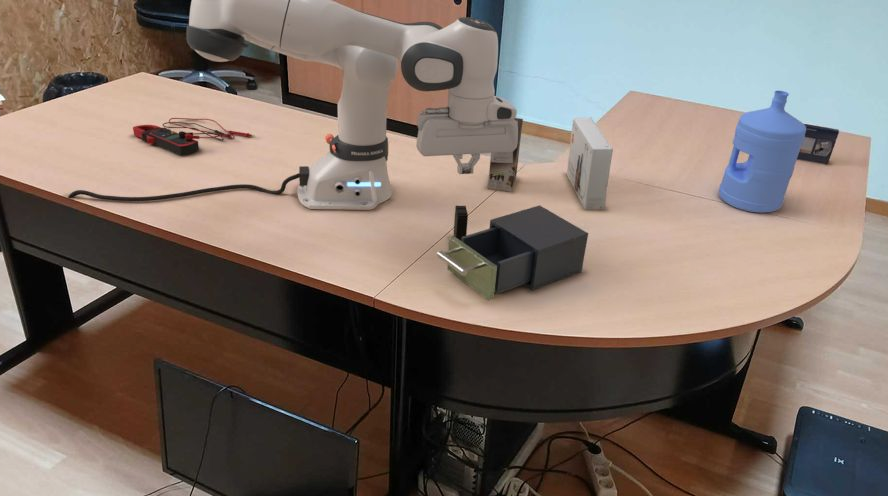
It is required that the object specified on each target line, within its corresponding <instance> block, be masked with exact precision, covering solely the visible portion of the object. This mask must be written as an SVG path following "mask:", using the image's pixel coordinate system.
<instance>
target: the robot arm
mask: <svg viewBox="0 0 888 496" xmlns="http://www.w3.org/2000/svg"><path fill="white" fill-rule="evenodd" d="M188 18H189V19H188V25H186V33H185V34H186V36H185V37H186V43H187V45H188V46H189V47H190V49H191V50H193V51H195V52H196V53H197V54H198V55H199V56H201V57H202V58H204V59H206V60H209V61H211V62H217V63H218V62H219V63H224V62H233V61H235V60H236V59H238V58H239V57H240V56H241V55H242V53H243V52H244V50H245V49H248V47H250V46H249V44H248V43H251V44H254V45H256V46H258V47H261V48H263V49H267V50H269V51H272V52H275V53H279V54H282V55H284V56H288V57H290V58H294V59H297V60H299V61H303V62H312V63H313V62H314V63H319V64H324V65H329V66H333V67H336V68H338V69H339V70H341V71H342V78H343V79H342V87H341V93H340V98H339V100H338V101H337V134H336V136H334V134H332V133H327V134H326V135H325V137H324V139H325V142H326V143H327V145H329V151H328V152H327V153H325V154H324V155H322V156H321V157H320V158H318V159H317V160H316V161H315V162H313V163H312V164H311V165H309V166H307V165H306V166H305V165H304V166H299V168H298V169H299V170H298V173H296V174H293V175H290V176H289V177H286V178H285V179H284V180H283V181H282V183H281V185H280V189H277V190H270V189H267V188H263V187H261V186H259V185H254V184H245V183H244V184H230V185H222V186H214V187H207V188H201V189H196V190H190V191H184V192H183V191H182V192H177V193H168V194H162V195H151V196H120V195H119V196H116V195H105V194H100V193H95V192H91V191H88V190H83V189H78V190H77V189H76V190H74V191H72V192H71V193H70V194H68V196H67V199H73V198H75V197H76V196H80V195H83V196H87V197H91V198H94V199H97V200H104V201H115V202H116V201H117V202H154V201H161V200H163V201H164V200H170V199H178V198H184V197H185V198H186V197H191V196H196V195H202V194H208V193H214V192H222V191H229V190H241V189H243V190H246V189H247V190H249V189H250V190H255V191H258V192H261V193H265V194H269V195H274V196H275V195H277V196H278V195H282V194H283V193H284V192H285V191H286V188H287V184H289V183H290V182H291V181H294V180H297V179H299V184H298V186H297V188H296V189H297V192H296V193H297V198H298V201H299V202H300V204H301V205H302V206H304V208H307V209H310V210H353V211H354V210H358V211H360V210H361V211H364V210H365V211H370V210H373V209H375V208H376V207H378V205H380V204H382V203H384V202H387V200H390V198H391V197H392V196H393V190H392V187H391V183H390V182H391V181H390V177H389V170H388V160H389V159H388V158H389V138H388V136H387V117H388V116H387V110H388V101H389V96H390V91H391V88H392V83H393V81H394V79H395V78H396V76H397V74H398V70H399V61H400V71H401V75H402V78H403V79H404V80H405V83H407V85H409V86H410V87H411V88H412V89H415V90H416V91H419V92H438V91H445V90H448V91H447V92H448V93H447V106H445V107H442V106H441V107H427V108H425V109H424V110H422V111H420V113H419V114H417V121H416V123H417V124H416V125H417V128H418V131H417V137H416V149H417V151H418V153H420V155H421V156H423V157H441V156H443V157H444V156H452V157H453V159H454V160H455V162H456V164H457V168H456V171H457V174H458V175H472V174H474V170H475V169H474V168H475V166H476V165H477V163H478V162H479V161H480V159H481V154H491V153H501V152H513V151H514V150H515V149H516V147H517V144H518V125H517V122H516V121H515V120H514V119H515V118H517V114H518V112H517V109H516V108H515V106H514V105H513V104H512V103H511V102H510V101H508V100H507V99H506V98H503V97H500V96H496V95H495V94H496V93H495V92H496V90H495V85H494V81H495V77H496V74H497V71H498V59H499V38H498V33H497V31H496V30H495V28H494V27H493V26H492V25H491V24H490V23H489V22H486V21H485V20H482V19H479V18H476V17H469V16H467V17H466V16H462V17H459V18H457V19H456V20H455V21H454V22H452V23H451V24H449V25H447V26H445V27H442V26H441V25H439V24H437V23H435V22H431V21H415V22H399V21H395V20H392V19H389V18H385V17H382V16H377V15H374V14H371V13H367V12H364V11H361V10H357V9H353V8H351V7H348V6H346V5H344V4H341V3H339V2H337V1H334V0H191V2H190V7H189V17H188ZM246 41H247V42H248V43H245V42H246ZM464 155H470V156H471V157H470V159H469V160H468V161H467V162H461V160H463V156H464Z"/></svg>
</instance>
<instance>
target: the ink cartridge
mask: <svg viewBox="0 0 888 496" xmlns="http://www.w3.org/2000/svg"><path fill="white" fill-rule="evenodd" d="M468 220H469V214H468V210H467V206H466V205H457V204H456V205H455V207H454V223H453V236H452V237H456V238H457V239H459V240H460V241H461V239H462V237H463V236H467V235H468V234H467V232H468V222H469V221H468Z"/></svg>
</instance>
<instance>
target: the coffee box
mask: <svg viewBox="0 0 888 496" xmlns="http://www.w3.org/2000/svg"><path fill="white" fill-rule="evenodd" d="M514 120H515V121H516V122H517V125H518V144H517V147H516V149H515V150H514V151H513V152H501V153H490V159H489V160H490V161H489V170H488V180H487V189H489V190H496V191H497V190H498V191H504V192H510V193H511V192H513V189H514V186H515V182H516V180H517V174H518V166H519V156H520V155H519V154H520V147H521V138H522V131H523V130H522V129H523V121H524V120H523V118H519V117H516V118H515V119H514Z"/></svg>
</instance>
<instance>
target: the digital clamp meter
mask: <svg viewBox="0 0 888 496" xmlns="http://www.w3.org/2000/svg"><path fill="white" fill-rule="evenodd" d="M171 120H189V121H191V120H192V121H211V122H214V123H216V125H218V126H219V128H220V129H222V130H223V131H224V132H226V133H224V132H222V131H219V130H217V129H212V128H209V127H206V126H203V125H201V124H199V123H196V122H189V123H188V122H183V121H171ZM168 124H170V125H175V126H166V125H168ZM182 124H183V125H182ZM184 124H185V125H195V126H198V127H201V128H203V129H207V130H210V131H206V130H200V129H199V128H195V127H188V126H185V125H184ZM162 126H163V127H161V126H158V125H155V124H139V125H135V126H133V127H132V130H133V131H132V132H133V135H134V136H135V137H138V138H140V139H142V140H141V141H143V142H146V143H147V144H149V145H151V144H152V145H154V146H157V147H159V148H161V149H164V150H166V151H168V152H171V153H173V154H175V155H178V156H180V157H184V156H190V155H193V154H197V152H199V151H200V146H199V141H198V140H200V139H216V140H219V141H224V140H225V139H224V138H227V139H230V140H236V137H235V135H237V136H244V137H247V138H249V137H254V135H253V134H250V132H240V131H236V130H235V131H234V130H226V129H225V128H224V127H223V126H222V125H221V124H220V123H218V122H217V121H215V120H214V119H210V118H187V117H170V118H169V120H168V122H167V121H166V122H164V123H162ZM171 129H188V130H192V132H187V131H182V130H181V131H179V132H176V131H173V130H171ZM193 131H196V132H197V133H196V132H195V133H194V132H193ZM200 135H207V136H200ZM219 137H221V138H219Z"/></svg>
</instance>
